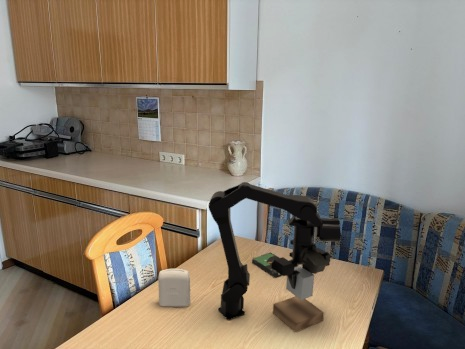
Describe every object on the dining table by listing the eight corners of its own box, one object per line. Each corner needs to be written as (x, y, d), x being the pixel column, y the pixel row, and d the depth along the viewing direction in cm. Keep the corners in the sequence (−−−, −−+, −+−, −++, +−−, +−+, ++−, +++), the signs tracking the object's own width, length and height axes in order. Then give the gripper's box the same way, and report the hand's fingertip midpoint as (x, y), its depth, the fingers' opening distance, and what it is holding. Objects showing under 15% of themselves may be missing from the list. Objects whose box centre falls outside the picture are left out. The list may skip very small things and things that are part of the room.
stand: (295, 332, 104) (296, 323, 104) (272, 312, 113) (273, 304, 113) (322, 320, 110) (323, 312, 109) (299, 302, 119) (299, 294, 118)
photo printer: (157, 307, 115) (156, 272, 112) (160, 299, 119) (159, 265, 116) (189, 308, 115) (189, 273, 112) (191, 300, 119) (191, 266, 116)
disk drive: (294, 272, 140) (270, 257, 152) (295, 266, 140) (270, 251, 151) (275, 279, 134) (251, 263, 146) (275, 273, 134) (251, 257, 145)
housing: (286, 288, 111) (287, 268, 110) (297, 285, 114) (298, 265, 112) (301, 300, 106) (302, 278, 104) (312, 296, 108) (314, 275, 106)
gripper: (297, 256, 94) (293, 308, 98) (346, 243, 104) (340, 291, 107) (271, 241, 103) (269, 289, 107) (318, 230, 113) (314, 274, 117)
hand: (299, 286), depth 109 cm, fingers closed on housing, 4 cm apart
